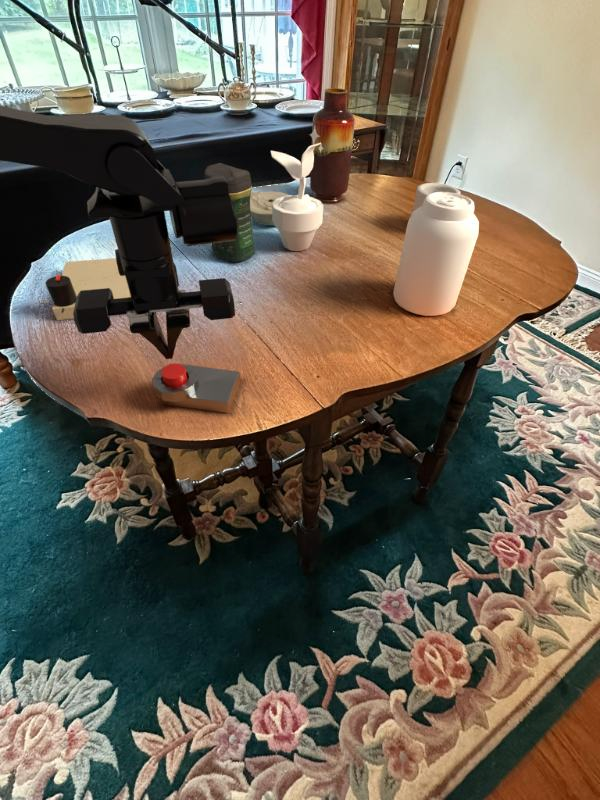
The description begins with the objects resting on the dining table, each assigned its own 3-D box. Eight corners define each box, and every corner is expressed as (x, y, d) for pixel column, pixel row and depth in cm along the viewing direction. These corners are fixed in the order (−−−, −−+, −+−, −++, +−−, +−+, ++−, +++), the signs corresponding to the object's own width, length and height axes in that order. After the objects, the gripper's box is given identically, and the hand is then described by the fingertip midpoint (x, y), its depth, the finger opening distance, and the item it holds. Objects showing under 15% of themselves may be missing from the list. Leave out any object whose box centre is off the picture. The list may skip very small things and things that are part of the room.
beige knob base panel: (42, 327, 77) (37, 315, 75) (58, 273, 91) (54, 261, 89) (131, 318, 80) (127, 306, 78) (133, 267, 94) (131, 256, 92)
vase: (305, 202, 124) (310, 92, 106) (313, 189, 132) (318, 84, 113) (343, 206, 122) (354, 96, 104) (349, 193, 130) (360, 88, 112)
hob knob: (76, 305, 78) (67, 284, 75) (52, 307, 77) (42, 286, 74) (78, 294, 81) (70, 272, 78) (55, 296, 80) (46, 275, 77)
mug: (442, 242, 108) (453, 200, 101) (402, 231, 112) (410, 190, 105) (458, 224, 116) (470, 184, 109) (420, 214, 120) (429, 176, 113)
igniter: (151, 409, 64) (145, 389, 61) (172, 373, 69) (167, 353, 67) (226, 419, 63) (223, 400, 60) (240, 382, 68) (238, 362, 66)
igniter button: (159, 386, 62) (157, 377, 61) (168, 371, 64) (166, 361, 63) (182, 389, 62) (180, 380, 60) (190, 373, 64) (188, 364, 63)
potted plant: (329, 244, 105) (339, 124, 87) (303, 262, 98) (308, 136, 80) (287, 230, 110) (288, 115, 92) (259, 246, 103) (254, 125, 85)
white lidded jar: (446, 324, 82) (481, 218, 68) (384, 306, 86) (404, 202, 72) (460, 294, 90) (493, 194, 76) (402, 279, 94) (424, 181, 80)
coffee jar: (260, 254, 100) (258, 167, 87) (236, 267, 95) (230, 176, 82) (230, 242, 104) (223, 157, 91) (206, 253, 99) (195, 165, 86)
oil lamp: (213, 215, 115) (211, 195, 112) (248, 200, 124) (247, 181, 120) (275, 237, 107) (275, 216, 103) (308, 219, 115) (309, 199, 112)
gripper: (219, 217, 56) (229, 318, 67) (66, 226, 53) (102, 331, 64) (230, 255, 49) (239, 362, 60) (52, 269, 45) (96, 380, 56)
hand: (169, 357), depth 60 cm, fingers closed
